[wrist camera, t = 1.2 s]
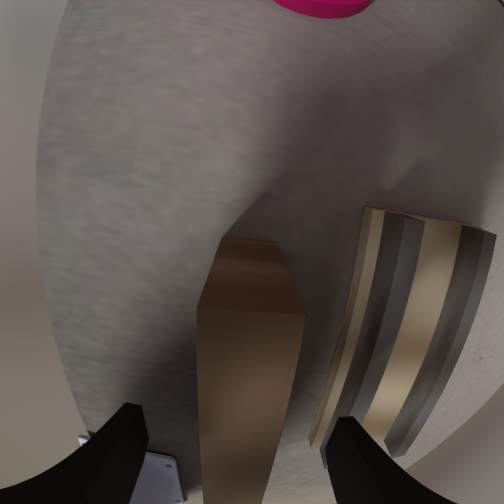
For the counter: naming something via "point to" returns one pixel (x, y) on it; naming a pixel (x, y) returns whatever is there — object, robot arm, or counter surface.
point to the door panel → (245, 367)
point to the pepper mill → (325, 7)
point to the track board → (403, 324)
